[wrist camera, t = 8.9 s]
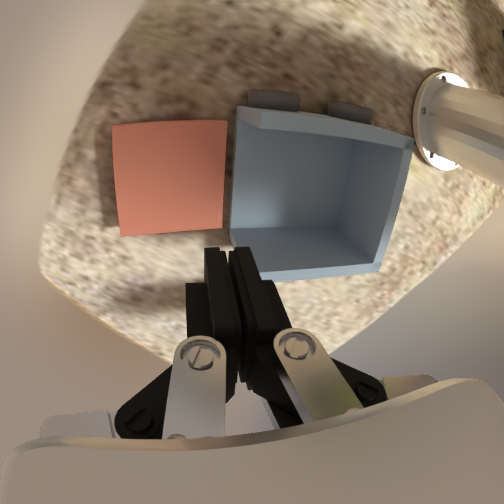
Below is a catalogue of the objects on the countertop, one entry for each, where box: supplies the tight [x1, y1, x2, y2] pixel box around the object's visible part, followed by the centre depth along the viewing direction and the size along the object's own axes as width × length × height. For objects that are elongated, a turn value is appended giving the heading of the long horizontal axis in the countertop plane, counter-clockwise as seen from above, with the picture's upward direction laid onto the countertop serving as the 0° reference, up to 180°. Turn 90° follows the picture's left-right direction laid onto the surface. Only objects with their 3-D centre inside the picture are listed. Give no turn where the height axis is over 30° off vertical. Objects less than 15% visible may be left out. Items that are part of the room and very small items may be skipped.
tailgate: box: [112, 120, 228, 237], centre depth 22 cm, size 1×9×9 cm
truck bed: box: [228, 90, 415, 282], centre depth 23 cm, size 12×15×8 cm
